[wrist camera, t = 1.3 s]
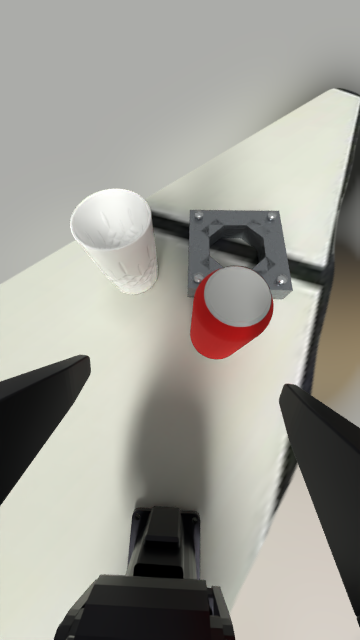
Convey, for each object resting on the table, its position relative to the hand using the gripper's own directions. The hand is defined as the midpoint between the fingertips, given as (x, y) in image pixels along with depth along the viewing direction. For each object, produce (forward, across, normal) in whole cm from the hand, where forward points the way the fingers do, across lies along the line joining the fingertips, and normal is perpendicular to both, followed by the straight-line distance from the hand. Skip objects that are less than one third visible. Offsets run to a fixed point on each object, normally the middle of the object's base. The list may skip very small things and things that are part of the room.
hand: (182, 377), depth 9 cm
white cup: (+21, +9, -1) cm, 23 cm away
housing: (+23, -5, -5) cm, 24 cm away
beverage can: (+16, -3, +5) cm, 17 cm away
